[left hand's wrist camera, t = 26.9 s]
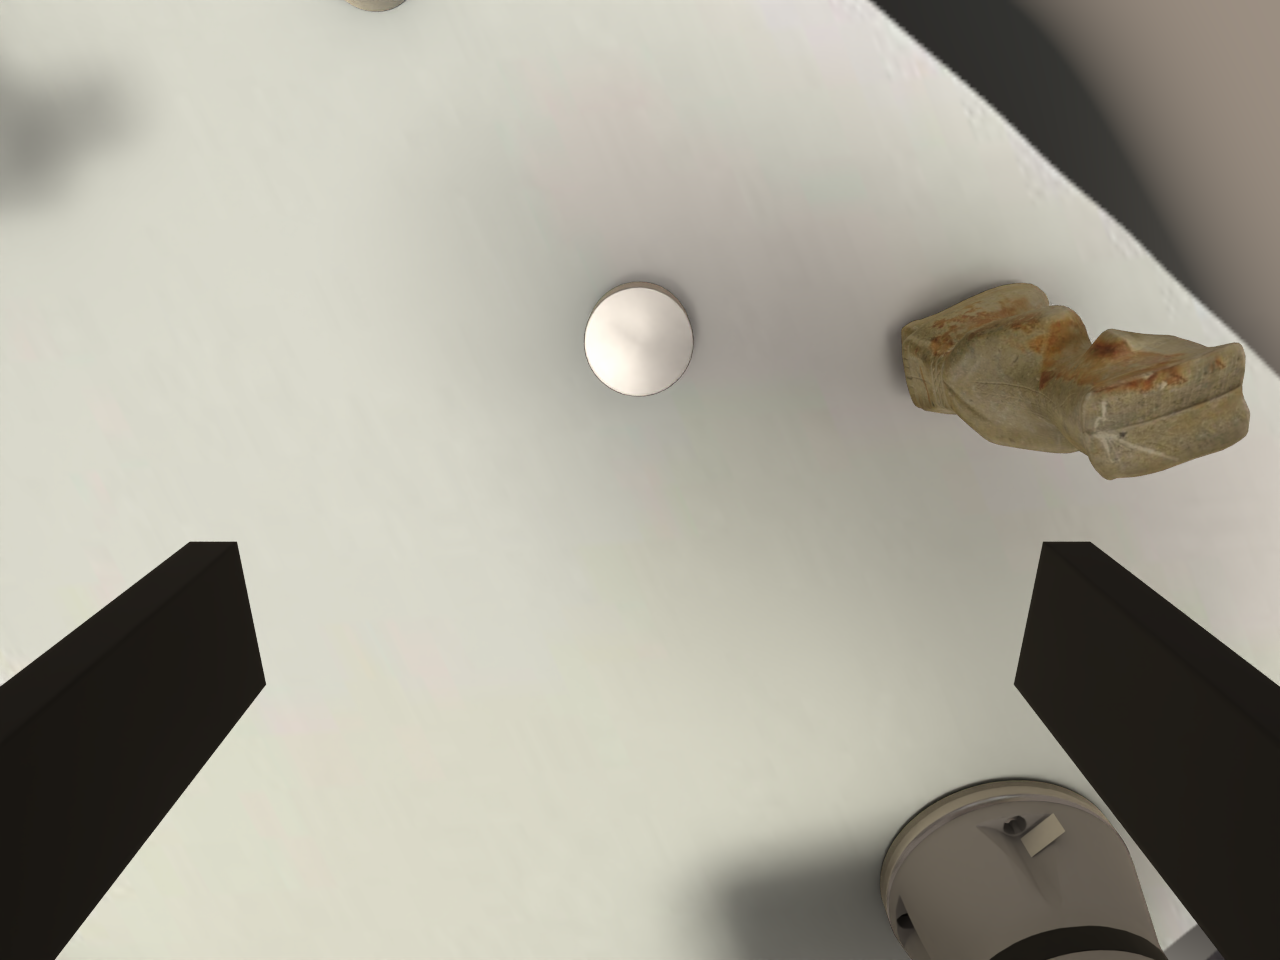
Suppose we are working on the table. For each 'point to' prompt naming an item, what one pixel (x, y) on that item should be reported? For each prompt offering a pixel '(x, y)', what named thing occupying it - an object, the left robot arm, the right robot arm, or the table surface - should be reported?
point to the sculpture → (1075, 383)
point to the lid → (638, 339)
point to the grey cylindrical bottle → (375, 4)
